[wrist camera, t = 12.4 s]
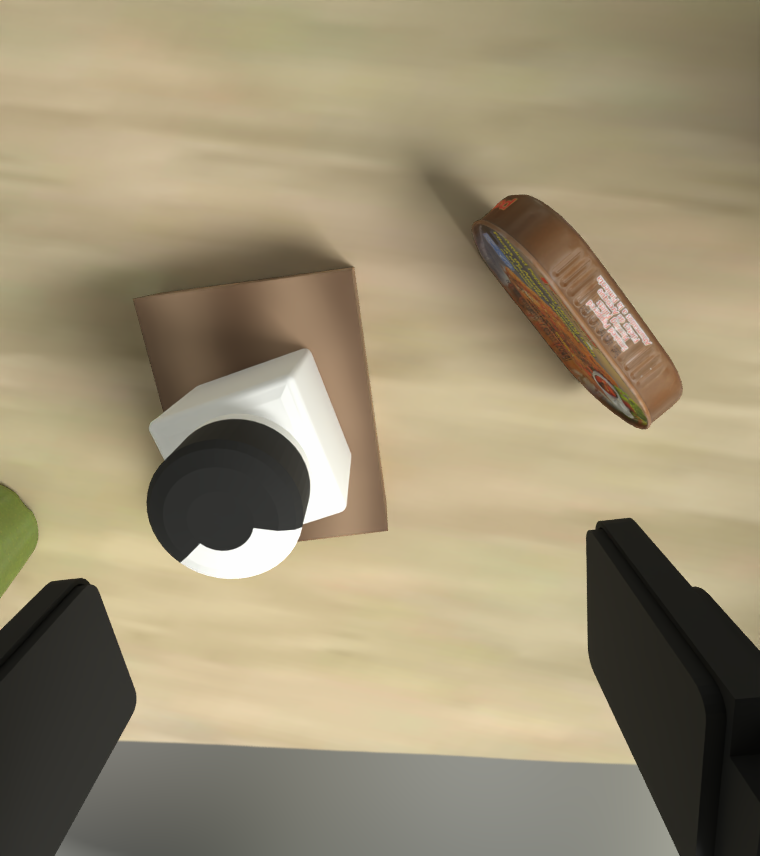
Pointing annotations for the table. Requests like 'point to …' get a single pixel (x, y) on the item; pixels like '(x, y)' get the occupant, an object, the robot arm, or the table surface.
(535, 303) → the tin
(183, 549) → the medicine bottle
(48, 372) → the table surface
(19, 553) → the plant pot
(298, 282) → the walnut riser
